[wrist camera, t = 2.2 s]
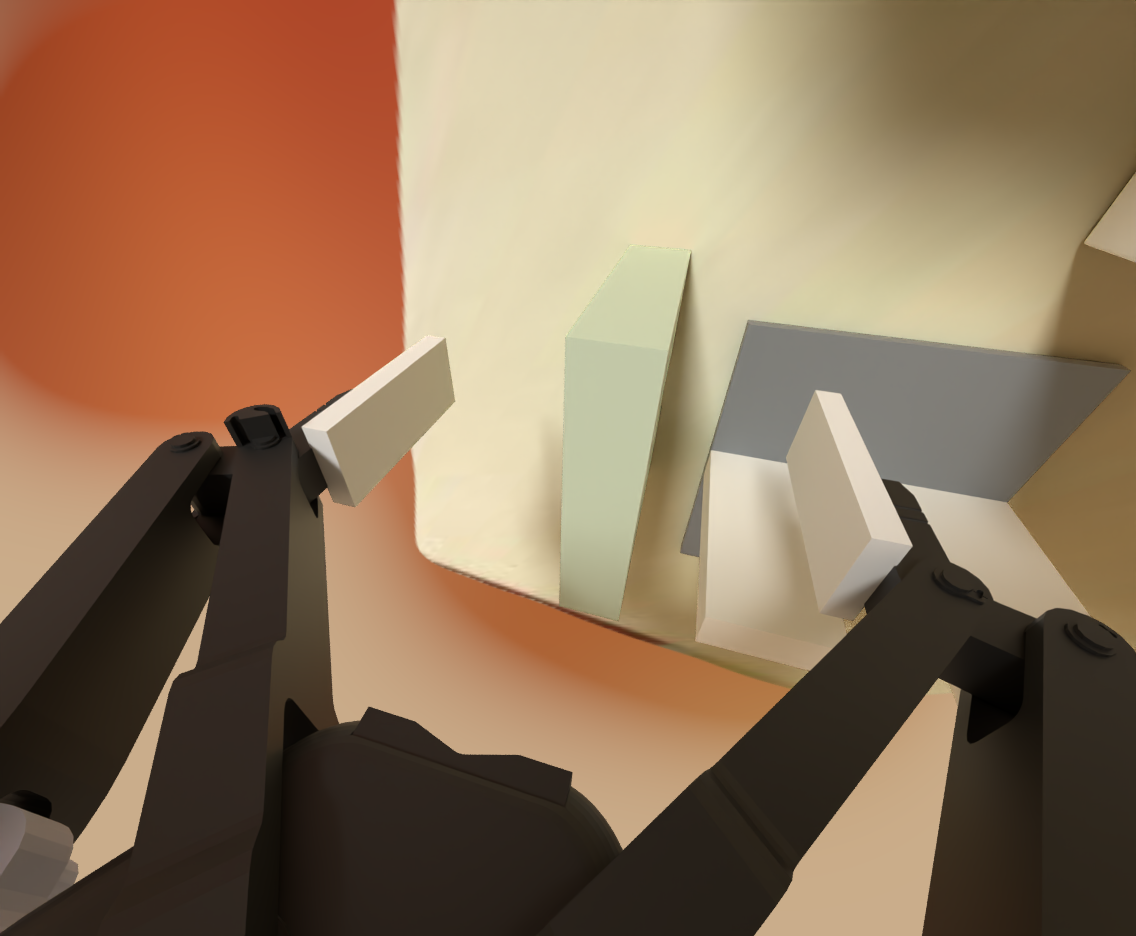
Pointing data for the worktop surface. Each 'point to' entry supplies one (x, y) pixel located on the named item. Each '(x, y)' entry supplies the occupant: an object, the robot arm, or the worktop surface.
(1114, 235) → the milk carton
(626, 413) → the pale green tall block
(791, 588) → the notched wall on base
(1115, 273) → the worktop surface
